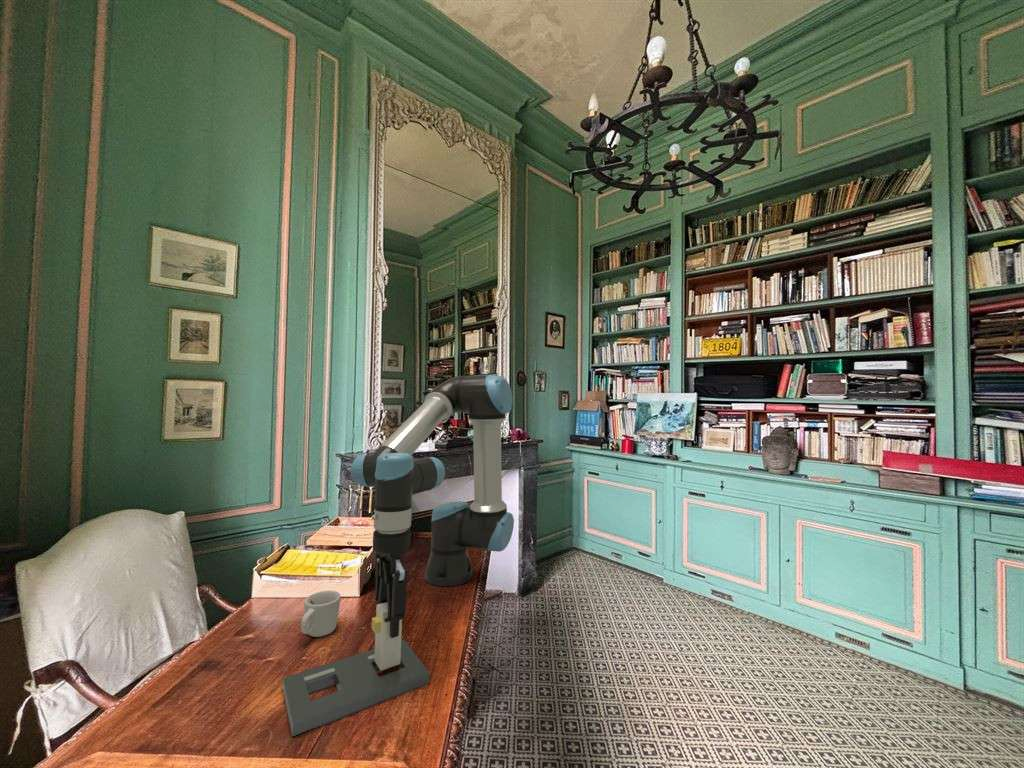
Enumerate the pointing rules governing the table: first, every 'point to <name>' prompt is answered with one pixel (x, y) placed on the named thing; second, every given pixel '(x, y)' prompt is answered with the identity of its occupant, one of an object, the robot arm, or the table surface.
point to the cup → (320, 613)
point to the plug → (379, 630)
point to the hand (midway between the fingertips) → (388, 645)
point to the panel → (348, 688)
